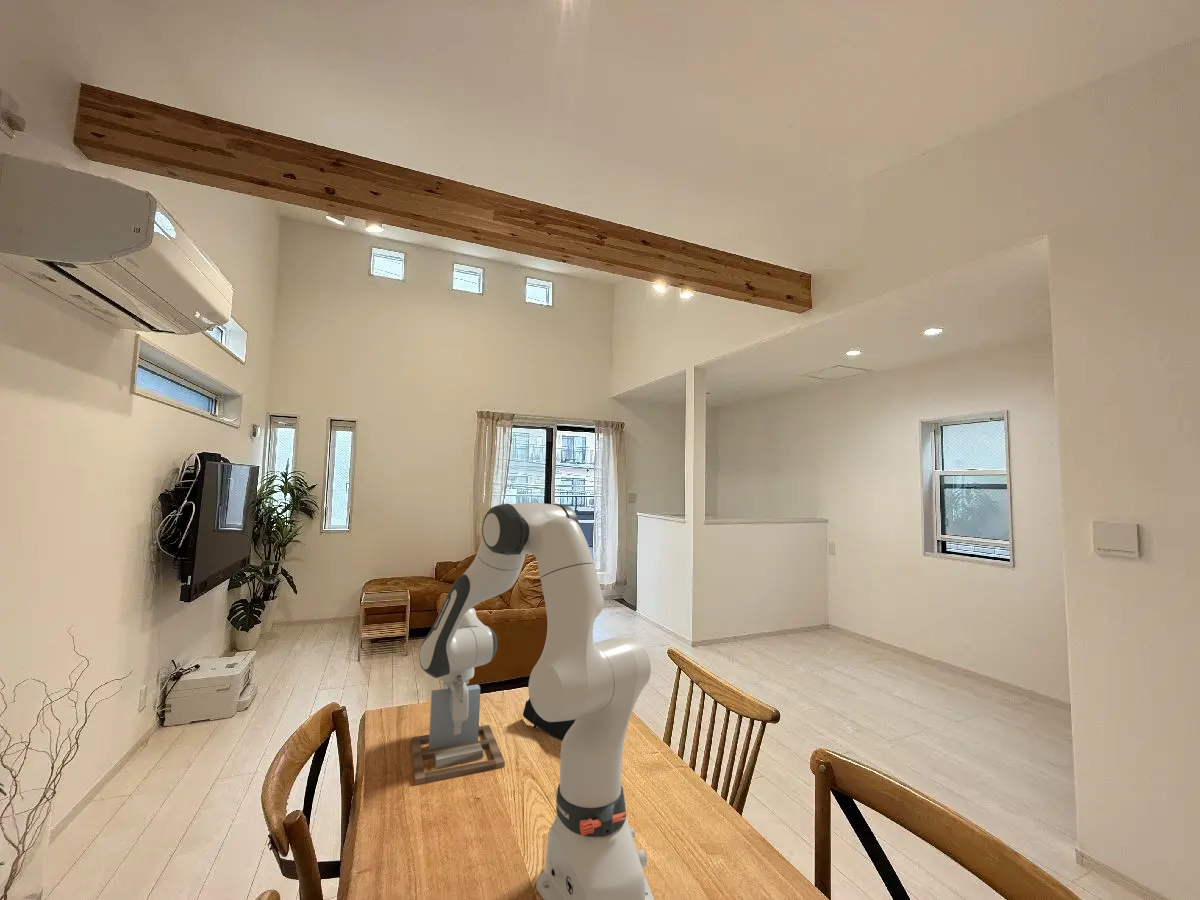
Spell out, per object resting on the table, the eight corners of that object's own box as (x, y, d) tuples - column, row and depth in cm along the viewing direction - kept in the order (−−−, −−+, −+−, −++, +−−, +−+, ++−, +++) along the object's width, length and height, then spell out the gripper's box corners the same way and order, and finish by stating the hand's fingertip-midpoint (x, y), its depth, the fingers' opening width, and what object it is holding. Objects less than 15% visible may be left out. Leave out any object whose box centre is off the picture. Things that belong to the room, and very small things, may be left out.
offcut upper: (482, 758, 119) (483, 749, 120) (436, 768, 114) (436, 759, 115) (479, 751, 123) (479, 743, 123) (433, 761, 118) (434, 752, 118)
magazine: (626, 721, 124) (542, 661, 141) (619, 726, 122) (535, 665, 139) (608, 781, 126) (528, 716, 143) (601, 788, 123) (520, 720, 140)
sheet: (477, 748, 127) (480, 688, 128) (429, 757, 122) (432, 695, 123) (475, 742, 129) (478, 684, 131) (428, 751, 125) (431, 690, 126)
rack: (504, 772, 116) (504, 761, 116) (414, 791, 108) (415, 779, 108) (488, 734, 134) (489, 724, 134) (411, 747, 126) (411, 737, 126)
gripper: (475, 682, 119) (473, 741, 118) (464, 656, 138) (461, 707, 137) (449, 686, 117) (446, 746, 115) (440, 658, 135) (438, 710, 134)
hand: (454, 725), depth 126 cm, fingers open, 8 cm apart
